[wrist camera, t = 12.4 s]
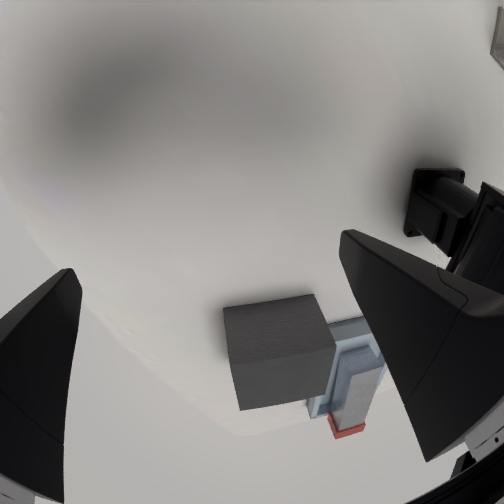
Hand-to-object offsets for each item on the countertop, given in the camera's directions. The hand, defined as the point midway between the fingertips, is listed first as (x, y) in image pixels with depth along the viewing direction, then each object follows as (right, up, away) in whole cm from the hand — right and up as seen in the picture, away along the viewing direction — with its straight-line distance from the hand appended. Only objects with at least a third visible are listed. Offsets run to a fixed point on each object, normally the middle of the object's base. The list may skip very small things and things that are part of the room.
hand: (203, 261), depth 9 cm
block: (+3, -8, +20) cm, 22 cm away
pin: (+14, -18, +26) cm, 35 cm away
